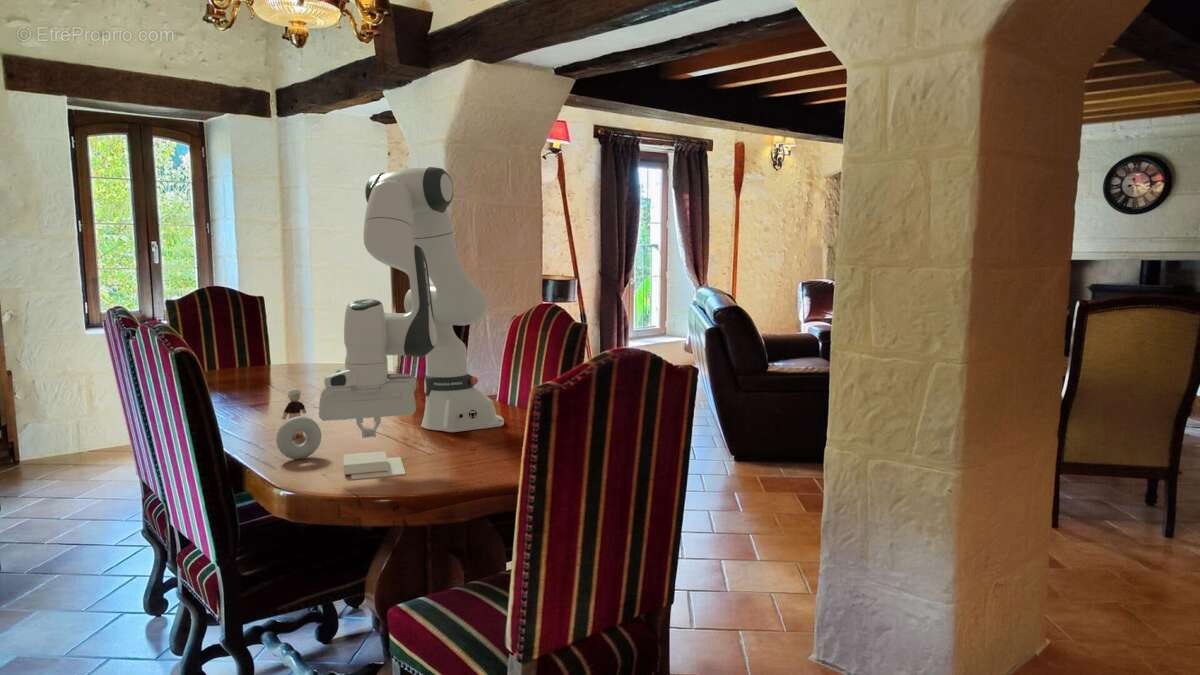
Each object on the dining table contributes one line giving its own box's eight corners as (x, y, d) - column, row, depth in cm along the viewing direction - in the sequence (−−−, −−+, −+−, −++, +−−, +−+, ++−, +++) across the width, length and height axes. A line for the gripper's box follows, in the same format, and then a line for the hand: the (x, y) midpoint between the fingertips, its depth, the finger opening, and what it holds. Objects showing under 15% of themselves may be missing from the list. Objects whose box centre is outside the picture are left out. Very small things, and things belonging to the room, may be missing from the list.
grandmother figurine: (294, 440, 192) (292, 391, 190) (280, 439, 192) (278, 390, 191) (311, 433, 199) (309, 385, 198) (298, 432, 200) (296, 385, 198)
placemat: (400, 458, 174) (400, 456, 174) (405, 474, 161) (405, 473, 161) (350, 462, 171) (350, 461, 171) (351, 479, 158) (351, 478, 158)
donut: (319, 453, 178) (317, 412, 177) (324, 456, 176) (322, 414, 174) (275, 461, 172) (273, 418, 171) (279, 464, 169) (277, 420, 168)
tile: (343, 464, 168) (385, 461, 171) (344, 475, 159) (388, 471, 162) (343, 454, 168) (385, 451, 171) (343, 465, 159) (387, 461, 162)
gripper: (414, 370, 170) (416, 430, 171) (317, 375, 163) (320, 437, 164) (417, 374, 164) (419, 436, 165) (317, 379, 157) (319, 444, 159)
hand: (369, 437), depth 165 cm, fingers closed
